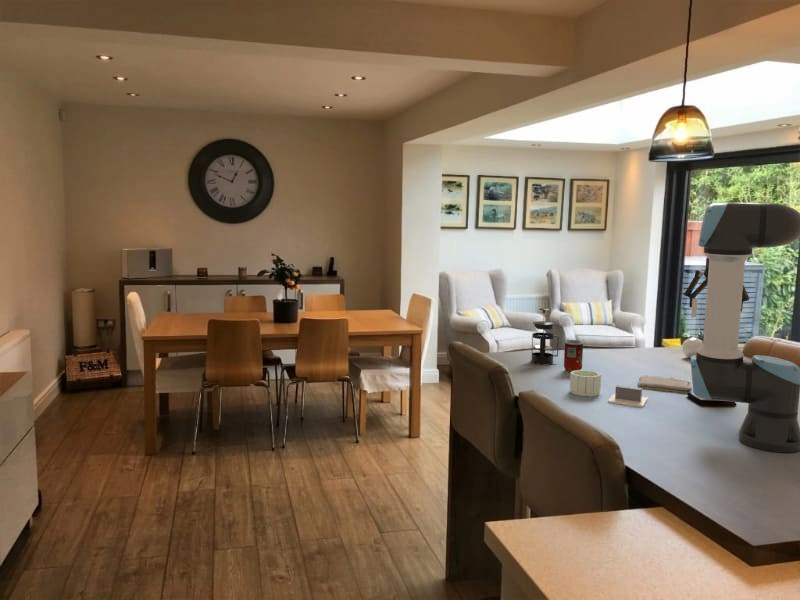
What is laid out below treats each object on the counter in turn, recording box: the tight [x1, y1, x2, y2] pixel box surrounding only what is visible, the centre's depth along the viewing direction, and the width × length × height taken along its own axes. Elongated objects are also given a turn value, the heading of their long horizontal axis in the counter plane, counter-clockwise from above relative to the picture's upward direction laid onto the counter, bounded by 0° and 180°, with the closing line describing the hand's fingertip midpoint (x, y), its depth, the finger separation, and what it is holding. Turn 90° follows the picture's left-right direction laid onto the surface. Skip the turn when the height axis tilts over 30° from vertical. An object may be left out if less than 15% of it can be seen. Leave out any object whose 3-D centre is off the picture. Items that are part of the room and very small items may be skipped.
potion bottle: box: [681, 337, 703, 360], centre depth 281 cm, size 9×10×15 cm
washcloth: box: [637, 375, 693, 394], centre depth 233 cm, size 12×18×3 cm, turn 66°
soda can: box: [563, 339, 584, 373], centre depth 255 cm, size 7×7×12 cm
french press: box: [530, 307, 560, 365], centre depth 271 cm, size 12×9×23 cm
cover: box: [607, 384, 649, 408], centre depth 214 cm, size 11×11×5 cm
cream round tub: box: [569, 369, 602, 397], centre depth 224 cm, size 10×10×7 cm
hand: (714, 319), depth 219 cm, fingers open, 13 cm apart
